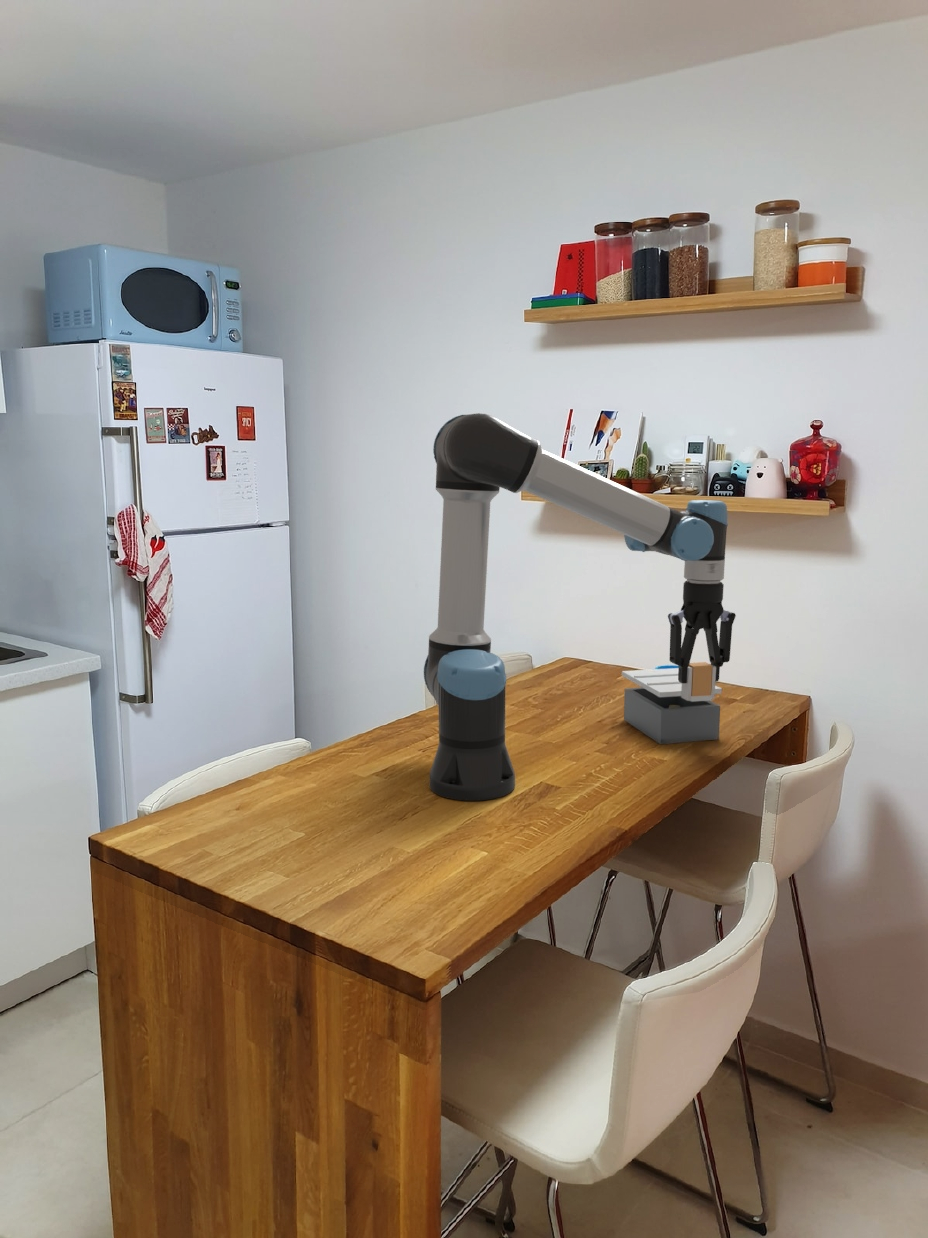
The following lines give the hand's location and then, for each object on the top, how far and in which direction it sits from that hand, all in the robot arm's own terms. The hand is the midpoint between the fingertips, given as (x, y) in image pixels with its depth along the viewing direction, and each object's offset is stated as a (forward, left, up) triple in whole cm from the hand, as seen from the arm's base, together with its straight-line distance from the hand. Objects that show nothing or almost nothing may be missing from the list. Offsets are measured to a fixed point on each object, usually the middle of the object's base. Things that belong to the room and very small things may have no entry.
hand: (697, 697), depth 189 cm
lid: (0, +10, 0) cm, 10 cm away
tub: (0, +12, -10) cm, 16 cm away
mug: (+11, +32, -10) cm, 36 cm away
